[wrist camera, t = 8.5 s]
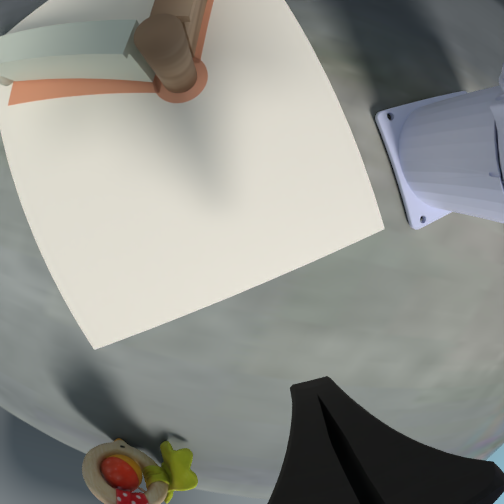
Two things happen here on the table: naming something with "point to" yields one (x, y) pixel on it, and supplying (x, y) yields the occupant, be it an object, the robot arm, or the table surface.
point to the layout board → (184, 169)
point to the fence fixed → (172, 41)
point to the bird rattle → (136, 473)
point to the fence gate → (74, 53)
